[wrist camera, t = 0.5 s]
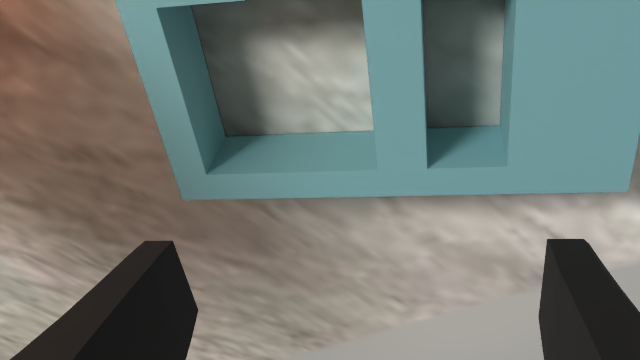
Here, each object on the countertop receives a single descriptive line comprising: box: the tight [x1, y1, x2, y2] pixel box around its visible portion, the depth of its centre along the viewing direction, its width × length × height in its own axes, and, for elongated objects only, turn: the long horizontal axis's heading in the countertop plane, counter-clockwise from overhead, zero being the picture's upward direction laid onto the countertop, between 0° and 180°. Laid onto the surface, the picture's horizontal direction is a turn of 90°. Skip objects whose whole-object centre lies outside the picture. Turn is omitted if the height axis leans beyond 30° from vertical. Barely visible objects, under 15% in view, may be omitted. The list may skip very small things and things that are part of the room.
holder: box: [115, 0, 640, 200], centre depth 19 cm, size 15×8×2 cm, turn 98°
